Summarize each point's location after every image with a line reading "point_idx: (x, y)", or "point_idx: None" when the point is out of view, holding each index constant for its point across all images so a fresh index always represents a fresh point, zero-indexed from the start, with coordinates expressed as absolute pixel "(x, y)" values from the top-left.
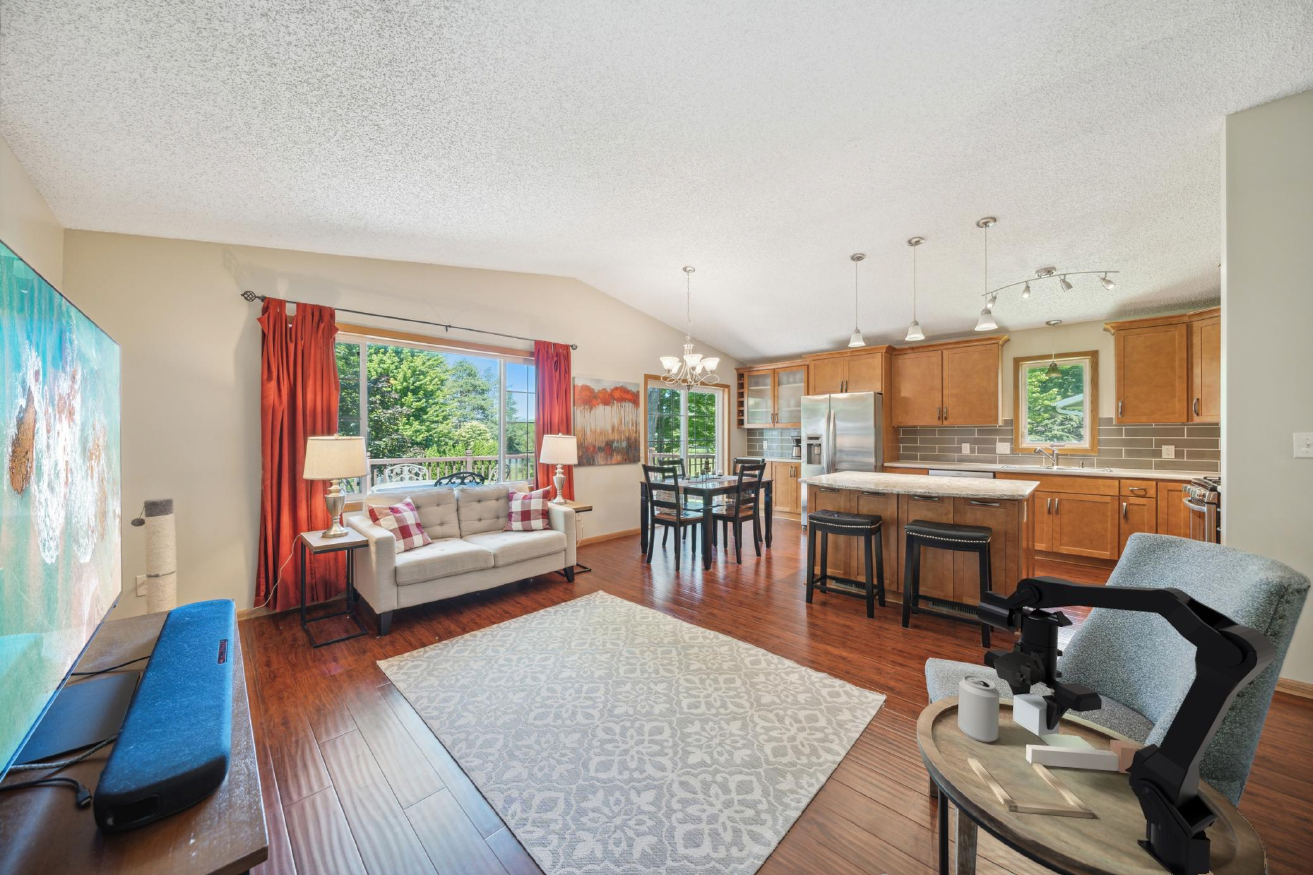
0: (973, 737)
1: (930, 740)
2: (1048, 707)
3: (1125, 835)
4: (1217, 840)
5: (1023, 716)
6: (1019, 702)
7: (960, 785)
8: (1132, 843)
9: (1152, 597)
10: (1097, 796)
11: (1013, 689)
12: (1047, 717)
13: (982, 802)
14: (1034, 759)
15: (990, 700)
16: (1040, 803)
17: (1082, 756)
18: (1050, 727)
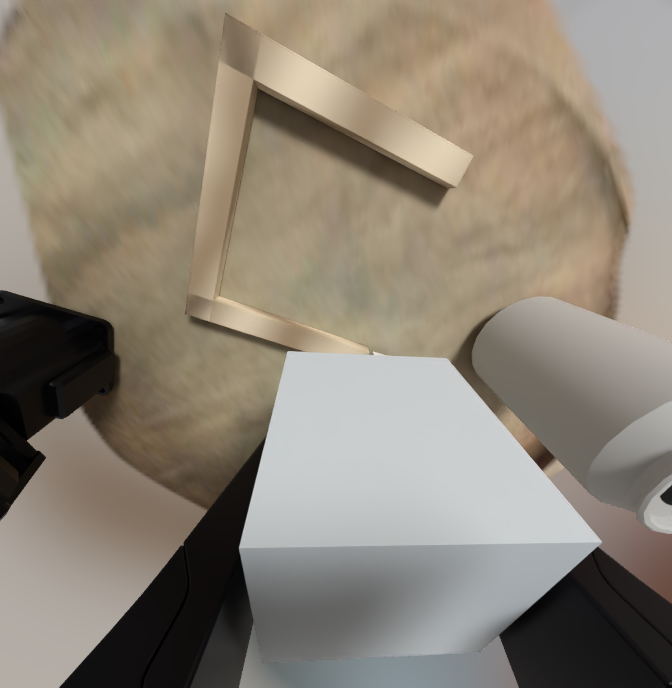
0: (514, 304)
1: (607, 133)
2: (169, 665)
3: (139, 324)
4: (140, 462)
5: (400, 397)
6: (489, 488)
7: None
8: (113, 313)
9: None
10: (258, 390)
11: (655, 621)
12: (246, 502)
13: None
14: None
15: (597, 422)
16: (225, 186)
17: None
18: (261, 446)
